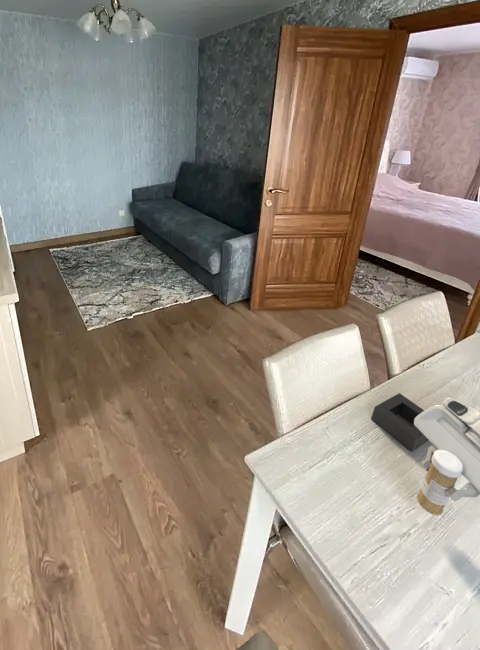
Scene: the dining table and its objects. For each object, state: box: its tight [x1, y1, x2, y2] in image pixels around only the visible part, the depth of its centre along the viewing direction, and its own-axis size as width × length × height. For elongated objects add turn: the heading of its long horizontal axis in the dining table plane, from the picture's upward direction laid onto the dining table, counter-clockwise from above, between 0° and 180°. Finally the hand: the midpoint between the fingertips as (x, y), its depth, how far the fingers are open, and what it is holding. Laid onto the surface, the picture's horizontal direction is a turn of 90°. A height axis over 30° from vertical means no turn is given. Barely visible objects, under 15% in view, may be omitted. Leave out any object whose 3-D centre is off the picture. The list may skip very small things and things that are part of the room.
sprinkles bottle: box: [416, 450, 463, 516], centre depth 68 cm, size 5×5×13 cm
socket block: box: [370, 392, 429, 453], centre depth 92 cm, size 11×11×4 cm
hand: (436, 481), depth 68 cm, fingers closed on sprinkles bottle, 4 cm apart
